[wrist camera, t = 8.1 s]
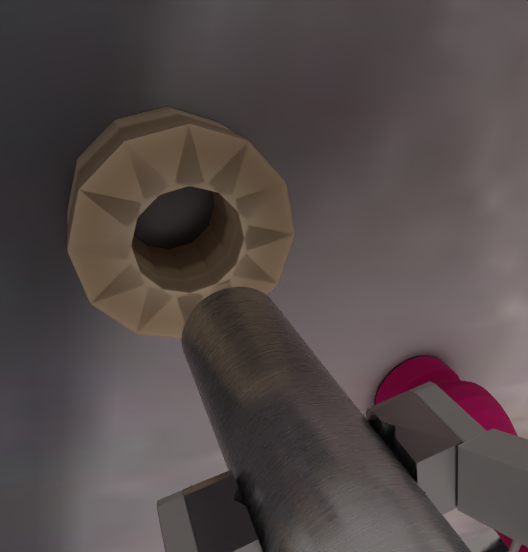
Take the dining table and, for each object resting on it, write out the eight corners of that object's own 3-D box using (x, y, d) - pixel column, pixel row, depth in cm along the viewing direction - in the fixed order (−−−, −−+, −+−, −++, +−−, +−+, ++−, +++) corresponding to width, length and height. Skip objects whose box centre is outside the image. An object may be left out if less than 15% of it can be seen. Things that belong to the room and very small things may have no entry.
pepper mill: (351, 424, 36) (605, 776, 19) (397, 340, 34) (728, 651, 17) (422, 433, 39) (692, 739, 22) (468, 357, 37) (804, 631, 20)
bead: (234, 88, 23) (271, 101, 19) (269, 256, 27) (306, 297, 23) (37, 139, 21) (30, 166, 17) (109, 310, 26) (117, 366, 21)
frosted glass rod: (270, 272, 14) (819, 896, 4) (287, 354, 15) (717, 962, 5) (168, 308, 13) (501, 1175, 3) (197, 390, 15) (486, 1161, 5)
